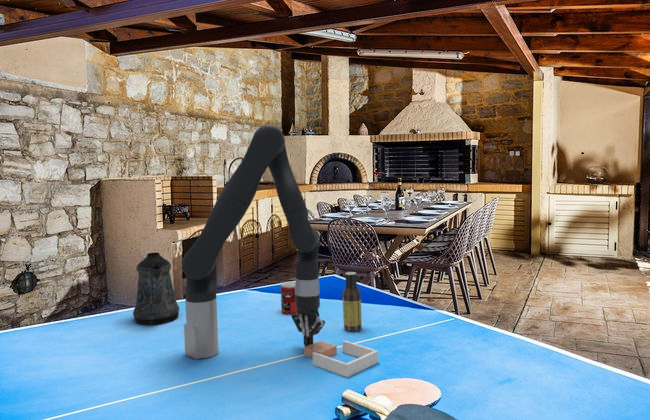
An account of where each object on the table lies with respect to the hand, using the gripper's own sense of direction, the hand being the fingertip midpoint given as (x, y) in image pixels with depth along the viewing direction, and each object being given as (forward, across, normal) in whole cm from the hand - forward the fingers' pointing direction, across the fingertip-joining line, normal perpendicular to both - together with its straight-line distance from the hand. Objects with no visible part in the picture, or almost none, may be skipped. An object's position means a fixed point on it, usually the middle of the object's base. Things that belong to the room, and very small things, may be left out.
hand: (308, 346), depth 162 cm
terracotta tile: (+2, +5, 0) cm, 5 cm away
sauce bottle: (+1, -2, +24) cm, 24 cm away
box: (+1, +15, 0) cm, 15 cm away
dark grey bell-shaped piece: (+1, -65, -15) cm, 66 cm away
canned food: (+1, -34, +24) cm, 41 cm away
